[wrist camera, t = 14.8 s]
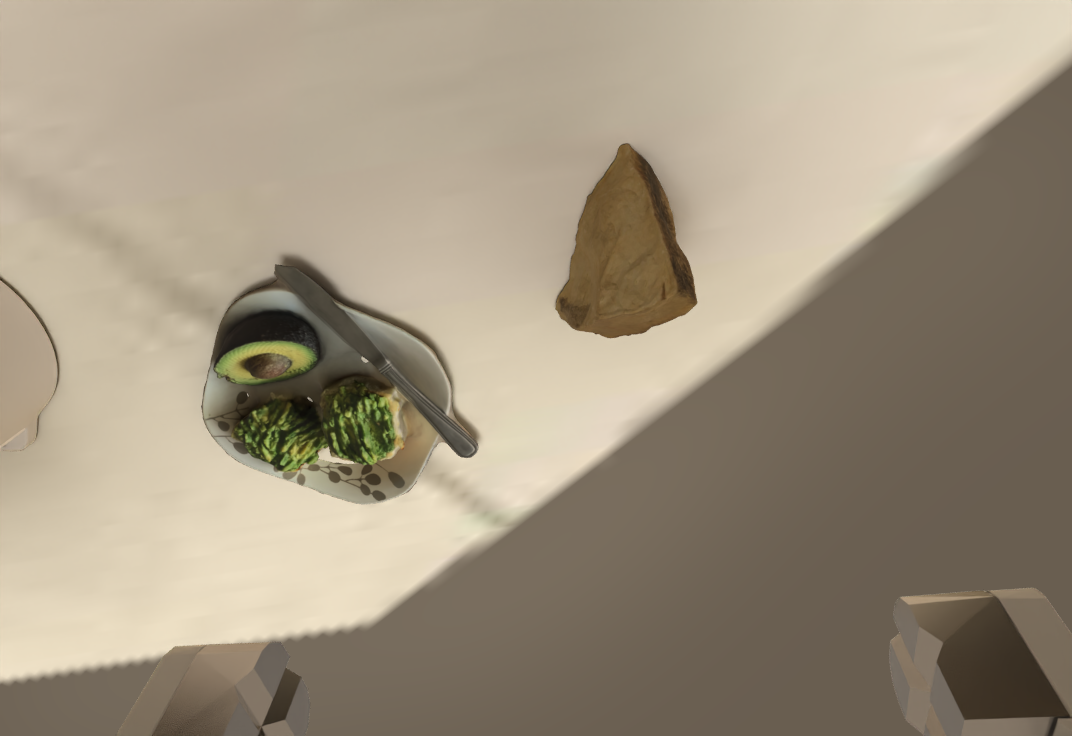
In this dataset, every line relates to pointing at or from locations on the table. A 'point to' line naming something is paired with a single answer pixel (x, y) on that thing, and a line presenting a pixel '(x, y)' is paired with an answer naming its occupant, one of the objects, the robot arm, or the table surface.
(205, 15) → the table surface
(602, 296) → the rock
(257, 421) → the plate of avocado toast
